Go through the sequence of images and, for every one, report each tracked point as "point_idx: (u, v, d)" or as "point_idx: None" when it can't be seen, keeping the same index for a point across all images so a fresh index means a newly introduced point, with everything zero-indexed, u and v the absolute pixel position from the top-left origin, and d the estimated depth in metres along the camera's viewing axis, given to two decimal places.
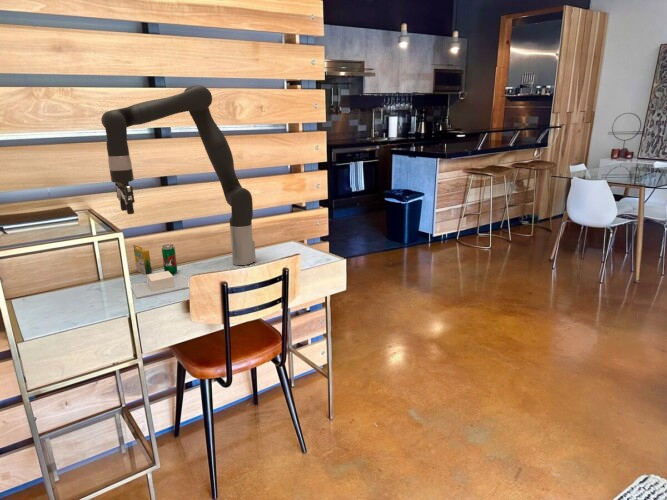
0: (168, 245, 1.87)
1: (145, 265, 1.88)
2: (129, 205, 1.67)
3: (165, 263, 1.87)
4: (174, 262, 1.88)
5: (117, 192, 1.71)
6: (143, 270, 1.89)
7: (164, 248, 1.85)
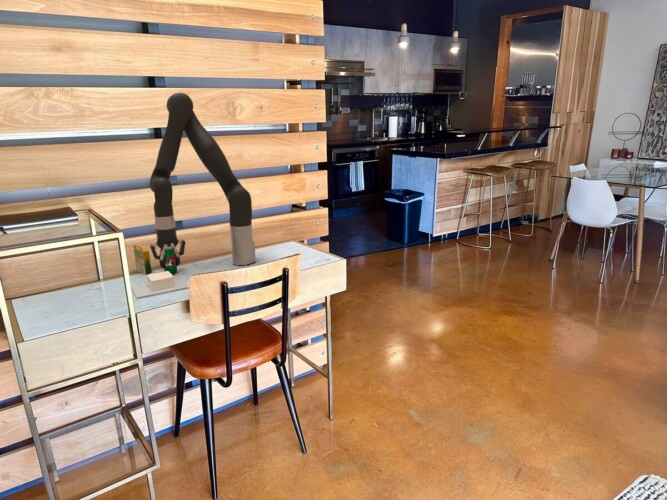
0: None
1: (145, 265, 1.88)
2: None
3: (165, 263, 1.87)
4: (174, 262, 1.88)
5: (162, 251, 1.85)
6: (143, 270, 1.89)
7: None
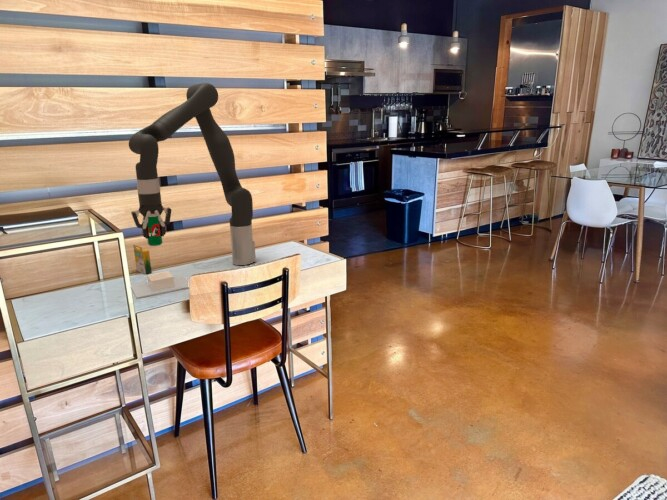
0: None
1: (145, 265, 1.89)
2: None
3: (148, 232, 1.68)
4: (158, 232, 1.69)
5: (145, 219, 1.66)
6: (143, 270, 1.89)
7: None
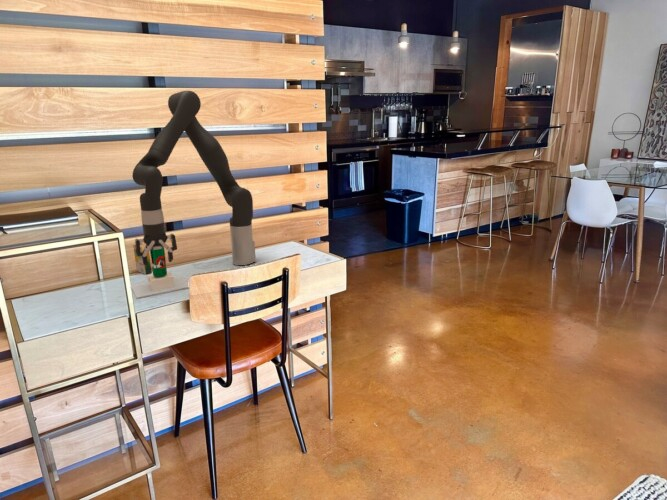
0: None
1: None
2: None
3: (153, 265, 1.71)
4: (163, 263, 1.72)
5: (147, 247, 1.68)
6: (143, 270, 1.89)
7: (152, 248, 1.69)
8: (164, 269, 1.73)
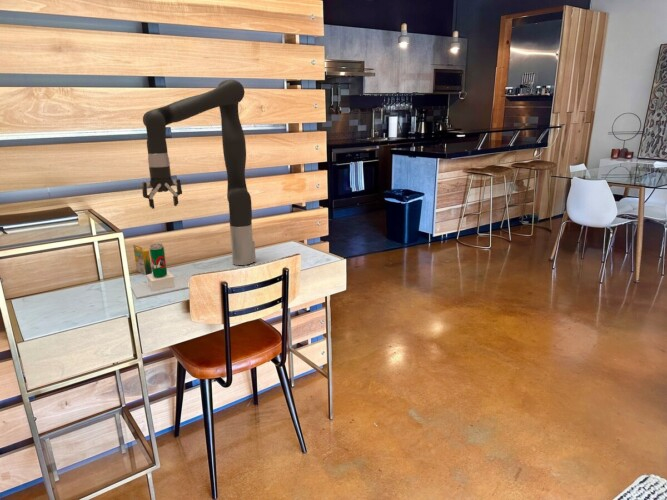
0: (157, 245, 1.71)
1: (145, 265, 1.88)
2: None
3: (153, 265, 1.71)
4: (163, 263, 1.72)
5: (154, 190, 1.75)
6: (143, 270, 1.89)
7: (152, 248, 1.69)
8: (164, 269, 1.73)
